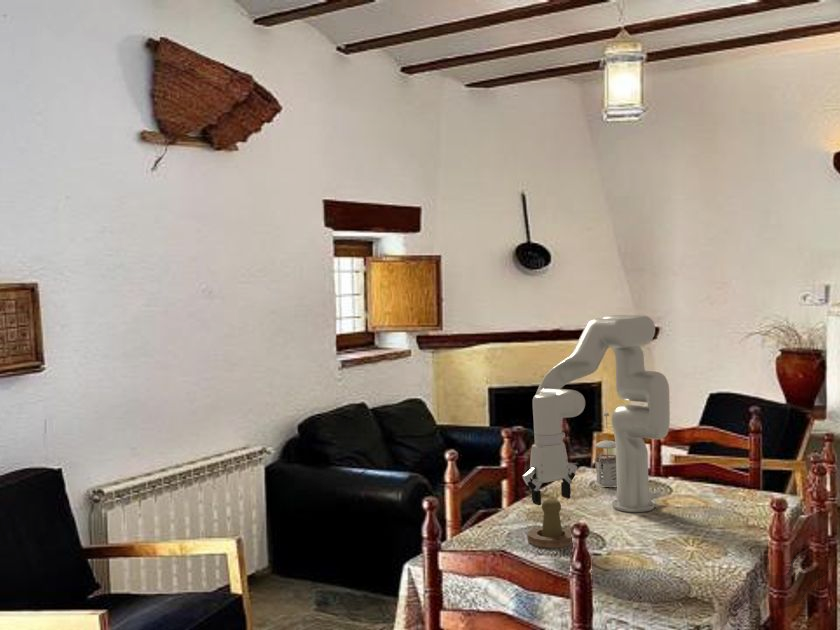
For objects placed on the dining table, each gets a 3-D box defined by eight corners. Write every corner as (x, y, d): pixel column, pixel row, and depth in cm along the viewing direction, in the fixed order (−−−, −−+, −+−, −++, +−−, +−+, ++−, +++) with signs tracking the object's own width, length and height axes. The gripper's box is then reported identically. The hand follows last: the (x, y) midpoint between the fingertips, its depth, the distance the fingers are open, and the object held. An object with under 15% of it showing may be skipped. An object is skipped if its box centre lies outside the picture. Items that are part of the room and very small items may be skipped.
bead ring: (556, 530, 233) (556, 523, 233) (584, 542, 222) (583, 535, 222) (519, 538, 228) (518, 531, 228) (545, 550, 216) (545, 543, 216)
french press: (628, 483, 283) (626, 411, 282) (610, 490, 275) (608, 416, 274) (603, 479, 290) (601, 409, 289) (585, 486, 281) (583, 414, 280)
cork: (563, 543, 221) (561, 503, 221) (540, 543, 223) (539, 503, 222) (564, 536, 227) (562, 497, 227) (542, 536, 229) (540, 497, 228)
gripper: (566, 432, 231) (569, 492, 232) (514, 441, 223) (517, 503, 224) (582, 436, 224) (585, 498, 225) (529, 446, 217) (533, 510, 218)
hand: (551, 500), depth 225 cm, fingers open, 9 cm apart
